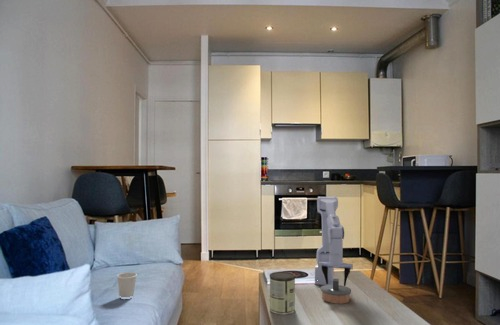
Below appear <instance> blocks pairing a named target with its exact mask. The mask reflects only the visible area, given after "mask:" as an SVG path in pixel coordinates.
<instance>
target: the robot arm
mask: <svg viewBox="0 0 500 325" xmlns="http://www.w3.org/2000/svg"><path fill="white" fill-rule="evenodd" d="M338 208H339V199H338V197H337V196H317V199H316V209H317V210H316V211H317V213H318V214H320V216H321V246H320V247H318V248H317V249H316V256H315V257H316V259H315V261H316V264H315V266H314V285H321V286H324V285H333V278H335V276H334V275H335V269H344V270H343V272H344V274H343V276H344V280H343V286H346V287H347V285H346V284H347V279H348V277H349V274H350V273H351V270H354V263H344V261H343V259H344V258H343V255H344V254H343V252H344V251H343V249H344V247H343V244H344V243H343V241H344V239H345V228H344V226H343V225H342V224H341V221H340V218H339V216H338V215H336V214H337V212H336V211H337V209H338ZM317 280H318V281H317Z"/></svg>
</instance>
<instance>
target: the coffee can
mask: <svg viewBox="0 0 500 325" xmlns="http://www.w3.org/2000/svg"><path fill="white" fill-rule="evenodd" d="M295 279H296V275H295V273H292V272H288V271H275V272H271V273H270V274H269V311H270V312H271V313H273V314H277V315H291V314H293V313H295V311H296V309H295V308H296V306H295V305H296V303H295V302H296V300H295V299H296V298H295V297H296V295H295V293H296V292H295V291H296V288H295V287H296V286H295V285H296V284H295V283H296V282H295V281H296V280H295Z"/></svg>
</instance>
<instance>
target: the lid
mask: <svg viewBox="0 0 500 325" xmlns="http://www.w3.org/2000/svg"><path fill="white" fill-rule="evenodd" d="M320 291H321V292H324V293H326V294H330V295H348V294H349V295H350V294H352V289H351V288H350V287H348V286H347V285H346V286H344V285H342V284H340V279H339V278H335V277H334V278H333V285H321V287H320Z"/></svg>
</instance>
